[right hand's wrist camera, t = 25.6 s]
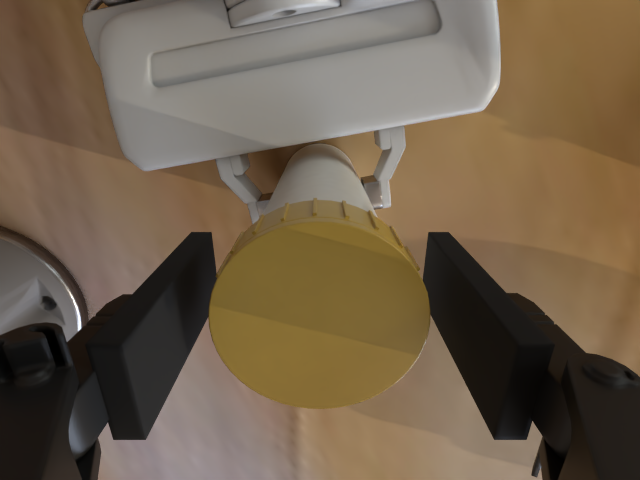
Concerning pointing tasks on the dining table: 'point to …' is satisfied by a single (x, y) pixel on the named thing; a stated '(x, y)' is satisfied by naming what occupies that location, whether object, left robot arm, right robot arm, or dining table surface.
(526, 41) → the dining table surface
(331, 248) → the lid
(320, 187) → the jar
